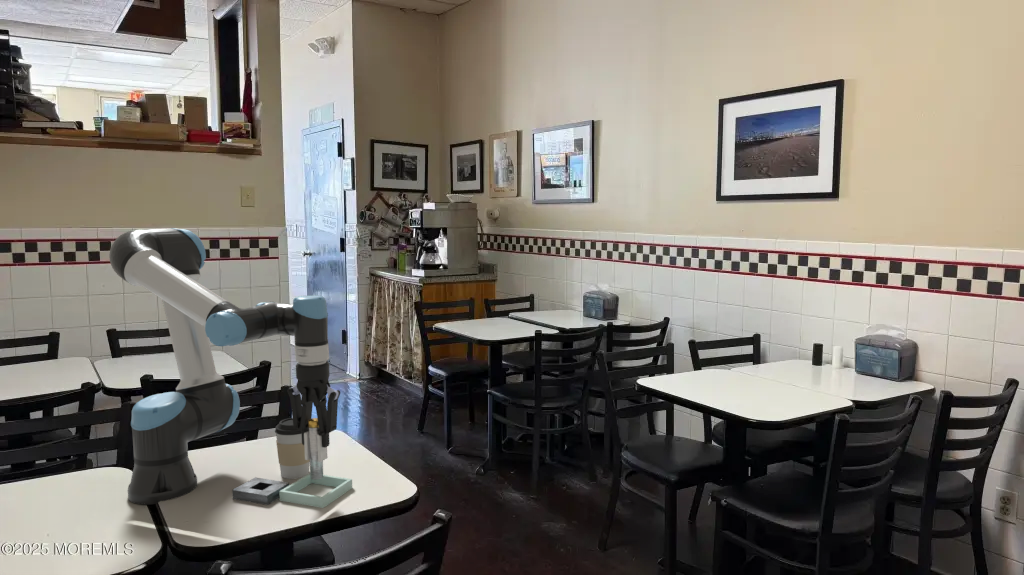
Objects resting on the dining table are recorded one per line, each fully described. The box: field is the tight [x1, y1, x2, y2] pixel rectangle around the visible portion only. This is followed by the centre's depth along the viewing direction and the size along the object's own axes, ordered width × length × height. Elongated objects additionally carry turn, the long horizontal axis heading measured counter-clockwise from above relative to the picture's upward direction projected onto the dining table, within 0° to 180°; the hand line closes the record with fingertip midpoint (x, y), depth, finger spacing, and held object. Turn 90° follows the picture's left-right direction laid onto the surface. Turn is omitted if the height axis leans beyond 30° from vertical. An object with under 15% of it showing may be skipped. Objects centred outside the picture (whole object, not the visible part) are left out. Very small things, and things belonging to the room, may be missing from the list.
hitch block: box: [231, 476, 291, 506], centre depth 163 cm, size 10×8×3 cm
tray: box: [279, 472, 353, 509], centre depth 164 cm, size 12×12×3 cm
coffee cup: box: [274, 417, 310, 480], centre depth 176 cm, size 9×9×15 cm
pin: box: [308, 417, 324, 480], centre depth 162 cm, size 3×3×14 cm
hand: (316, 458), depth 163 cm, fingers closed on pin, 3 cm apart
